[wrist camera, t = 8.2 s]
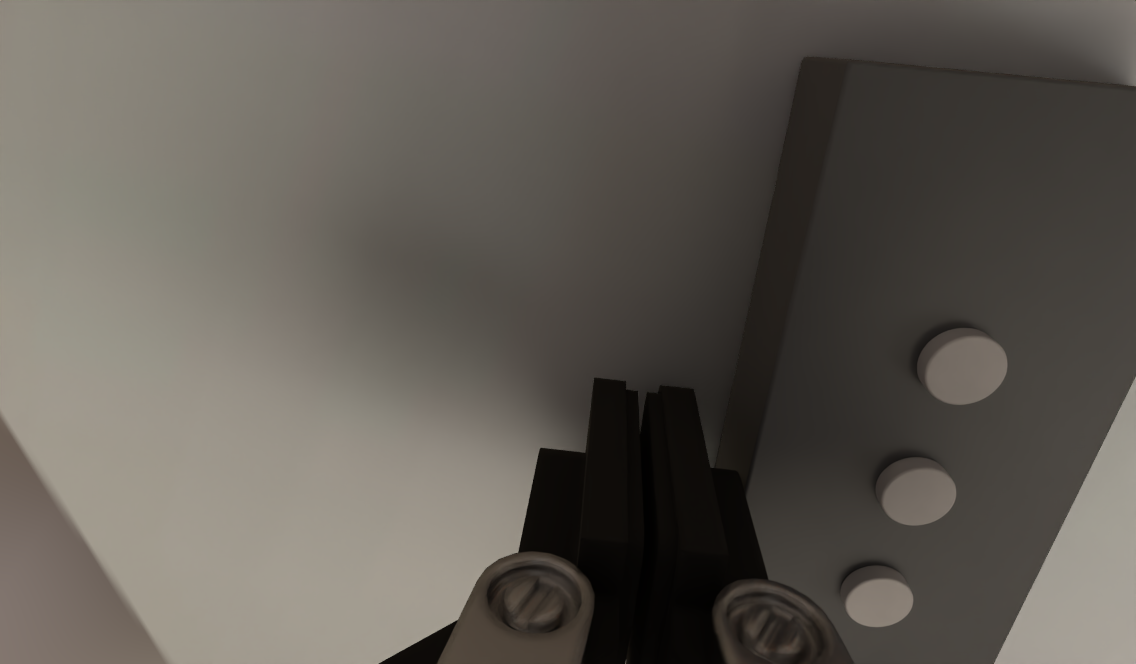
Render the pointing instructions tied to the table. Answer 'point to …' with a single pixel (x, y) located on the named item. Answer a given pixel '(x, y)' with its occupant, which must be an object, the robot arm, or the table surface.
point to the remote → (933, 344)
